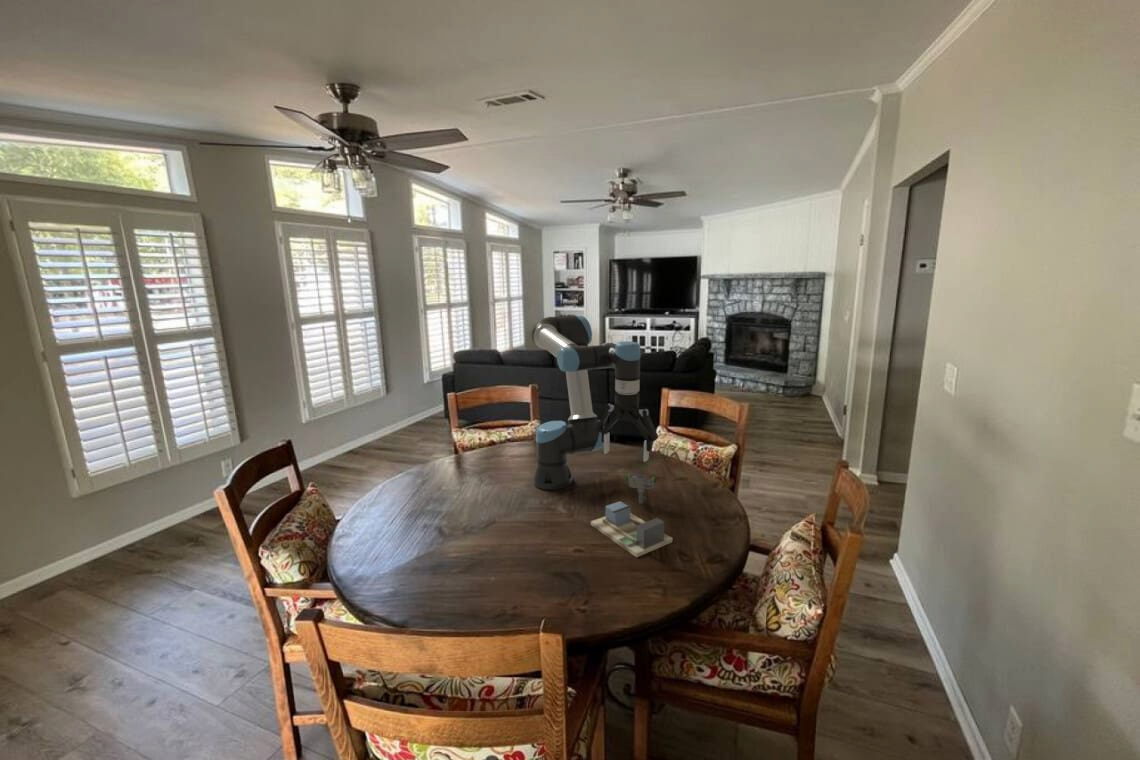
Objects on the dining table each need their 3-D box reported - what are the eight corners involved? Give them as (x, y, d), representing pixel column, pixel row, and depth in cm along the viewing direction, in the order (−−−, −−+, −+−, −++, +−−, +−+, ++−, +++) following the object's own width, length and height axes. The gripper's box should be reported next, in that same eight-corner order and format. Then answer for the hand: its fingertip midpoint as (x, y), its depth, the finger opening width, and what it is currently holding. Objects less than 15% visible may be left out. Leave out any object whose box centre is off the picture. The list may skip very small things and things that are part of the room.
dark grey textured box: (636, 544, 136) (636, 525, 135) (656, 536, 140) (657, 517, 139) (643, 549, 134) (643, 530, 132) (663, 540, 138) (664, 521, 137)
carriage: (603, 521, 149) (603, 505, 148) (621, 514, 153) (621, 499, 152) (613, 527, 145) (613, 512, 144) (631, 521, 149) (631, 505, 148)
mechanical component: (655, 506, 161) (656, 479, 159) (625, 503, 163) (625, 477, 161) (655, 502, 164) (656, 475, 162) (626, 500, 166) (626, 473, 164)
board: (590, 524, 150) (590, 518, 149) (624, 512, 157) (624, 506, 157) (636, 557, 132) (636, 550, 131) (672, 541, 139) (672, 535, 139)
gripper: (585, 390, 148) (585, 453, 153) (661, 399, 136) (659, 467, 141) (596, 384, 154) (596, 445, 159) (670, 394, 142) (667, 459, 147)
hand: (625, 456), depth 150 cm, fingers open, 13 cm apart
